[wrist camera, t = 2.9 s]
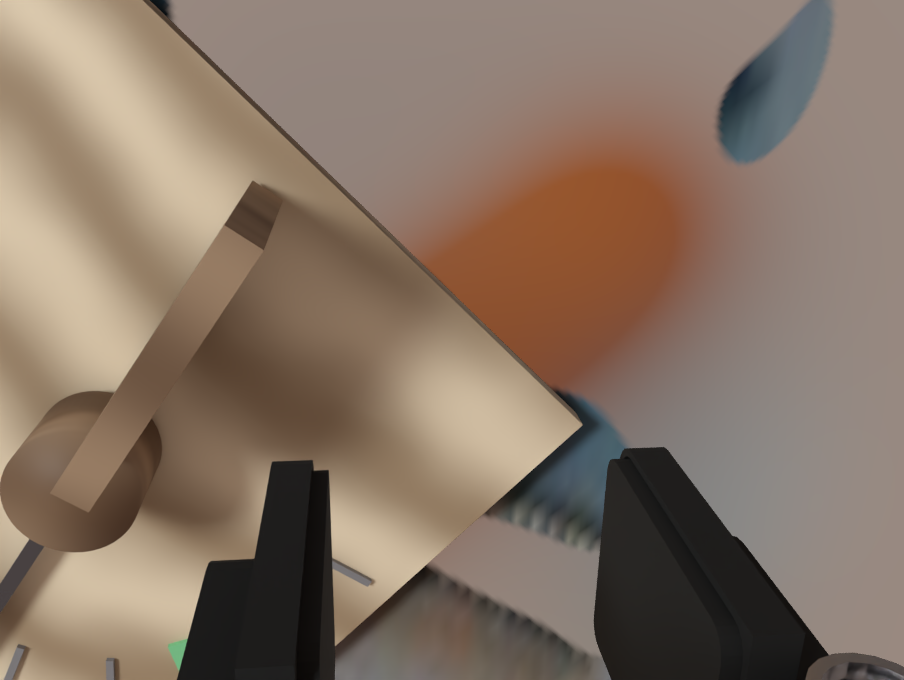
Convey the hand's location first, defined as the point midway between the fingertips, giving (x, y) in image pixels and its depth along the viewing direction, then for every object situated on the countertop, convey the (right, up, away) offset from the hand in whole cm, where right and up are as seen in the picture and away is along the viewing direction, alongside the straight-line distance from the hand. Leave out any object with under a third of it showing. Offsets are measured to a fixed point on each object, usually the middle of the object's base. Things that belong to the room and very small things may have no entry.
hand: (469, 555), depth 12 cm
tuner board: (-13, 0, +21) cm, 25 cm away
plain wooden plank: (-14, -1, +20) cm, 24 cm away
